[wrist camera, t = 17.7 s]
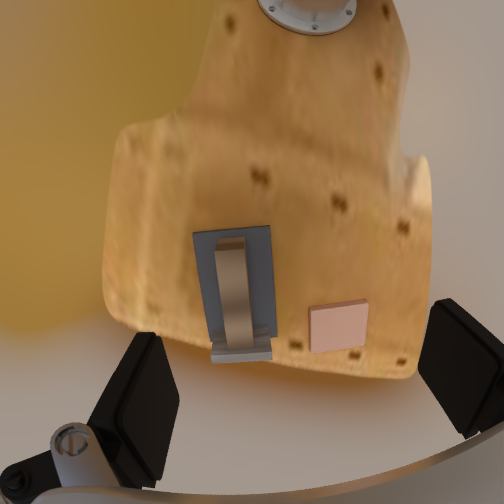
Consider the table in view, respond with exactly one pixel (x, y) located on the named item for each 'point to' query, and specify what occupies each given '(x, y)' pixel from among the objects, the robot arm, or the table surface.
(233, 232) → the mat
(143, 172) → the table surface
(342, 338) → the tile
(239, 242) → the scraper
